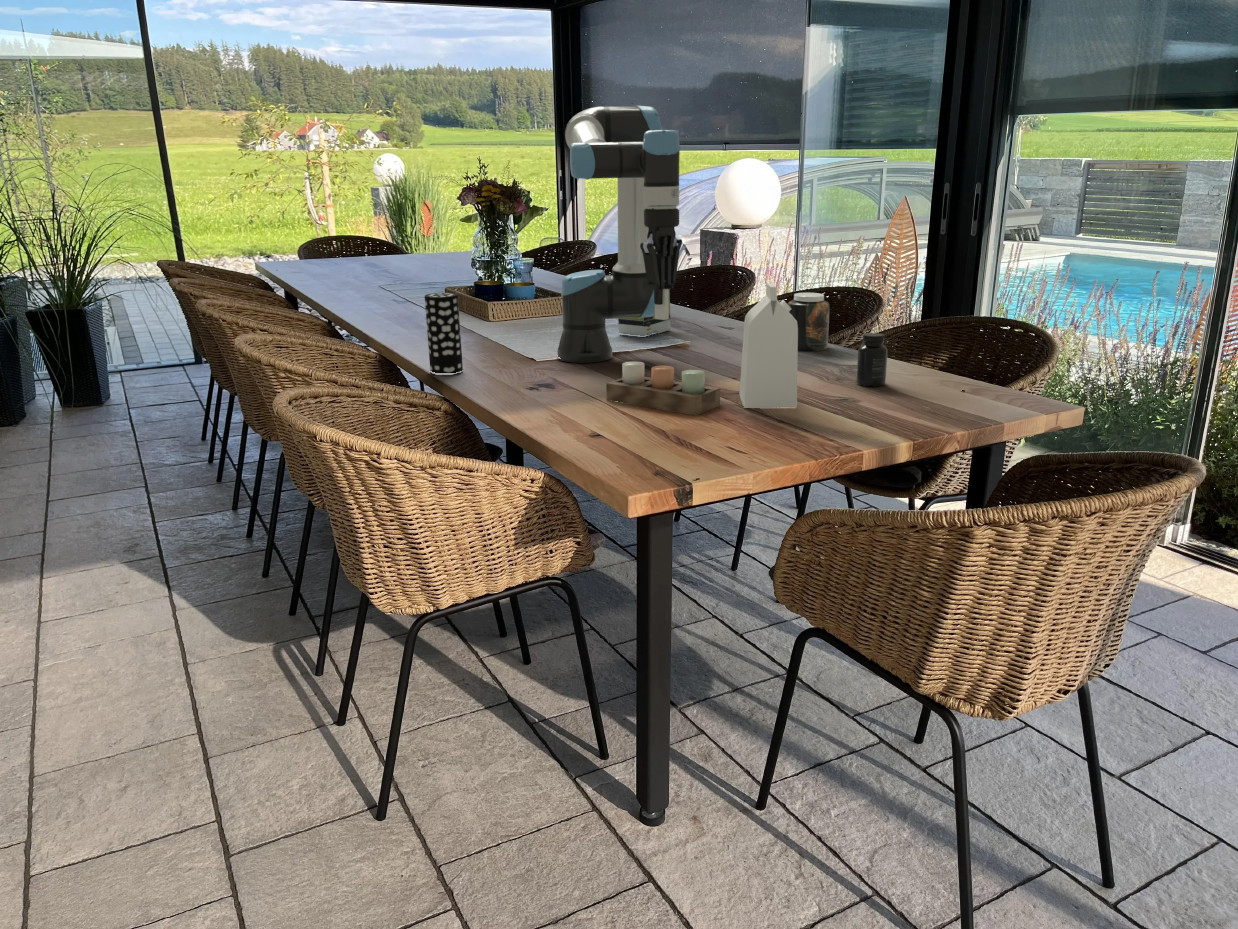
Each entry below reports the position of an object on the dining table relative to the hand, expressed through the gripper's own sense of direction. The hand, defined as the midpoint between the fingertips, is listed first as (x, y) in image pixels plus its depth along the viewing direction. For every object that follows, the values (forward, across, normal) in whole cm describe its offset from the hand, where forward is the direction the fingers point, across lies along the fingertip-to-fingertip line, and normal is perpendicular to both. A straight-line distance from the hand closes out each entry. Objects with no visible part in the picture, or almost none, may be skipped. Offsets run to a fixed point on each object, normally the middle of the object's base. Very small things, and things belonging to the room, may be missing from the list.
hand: (661, 318), depth 207 cm
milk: (+19, +14, -19) cm, 31 cm away
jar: (+19, +74, 0) cm, 76 cm away
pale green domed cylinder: (+16, 0, -8) cm, 18 cm away
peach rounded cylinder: (+16, 0, 0) cm, 16 cm away
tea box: (+18, +68, +52) cm, 88 cm away
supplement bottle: (+19, +42, -32) cm, 56 cm away
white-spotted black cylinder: (+19, -5, +64) cm, 67 cm away
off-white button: (+16, 0, +8) cm, 18 cm away
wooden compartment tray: (+19, 0, 0) cm, 19 cm away
